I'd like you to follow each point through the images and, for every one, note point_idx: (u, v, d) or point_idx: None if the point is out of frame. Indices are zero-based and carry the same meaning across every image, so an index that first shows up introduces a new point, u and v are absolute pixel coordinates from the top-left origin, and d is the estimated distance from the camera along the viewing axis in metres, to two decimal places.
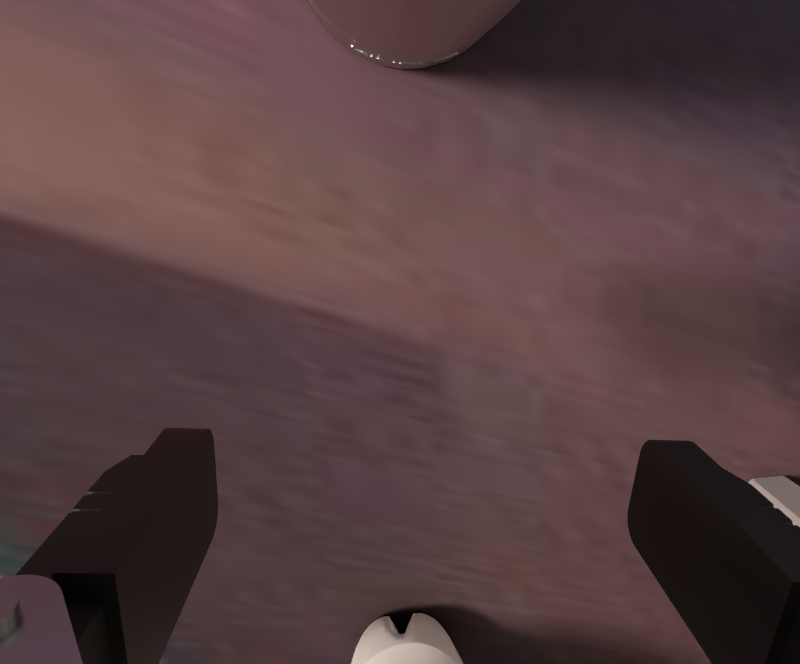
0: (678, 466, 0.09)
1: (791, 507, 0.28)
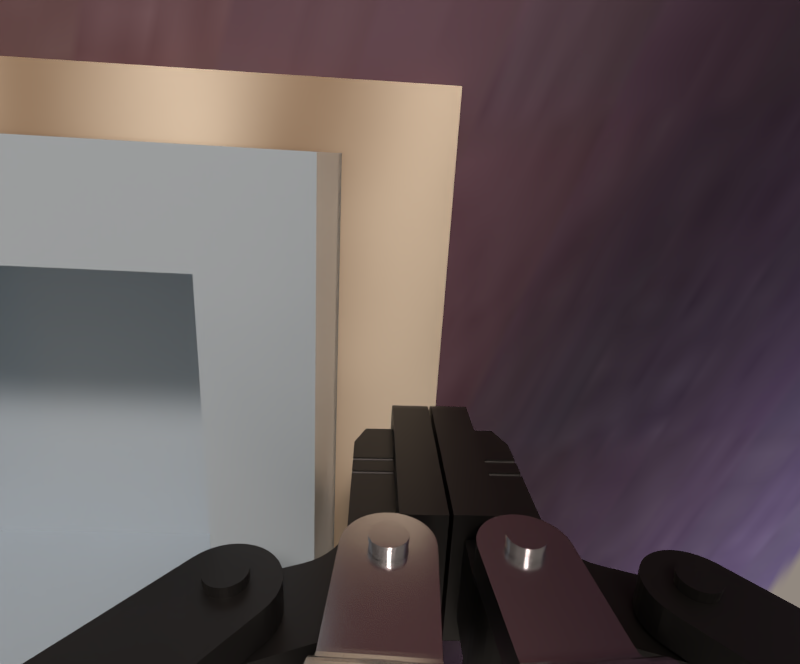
0: (435, 427, 0.10)
1: None
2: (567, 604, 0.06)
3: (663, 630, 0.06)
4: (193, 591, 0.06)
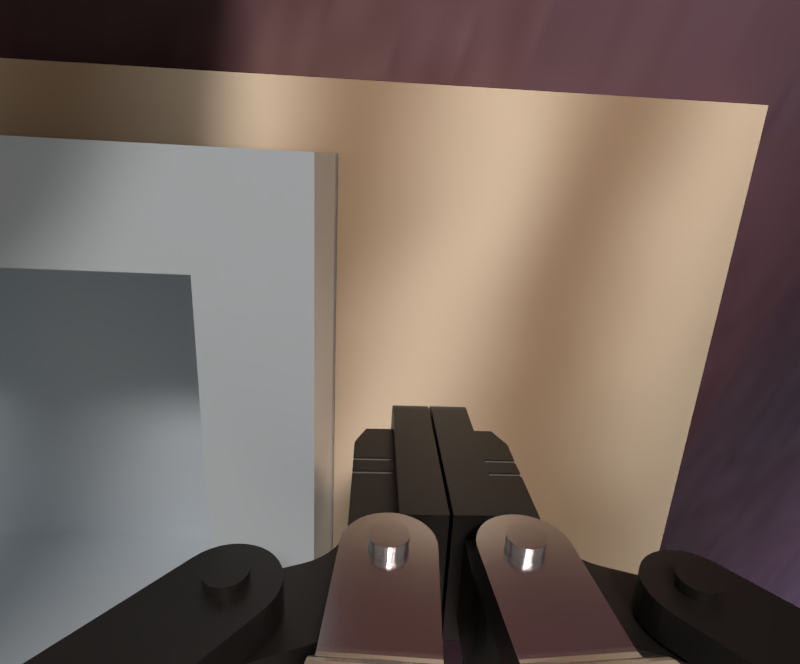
0: (434, 427, 0.10)
1: None
2: (567, 604, 0.06)
3: (663, 630, 0.06)
4: (194, 591, 0.06)
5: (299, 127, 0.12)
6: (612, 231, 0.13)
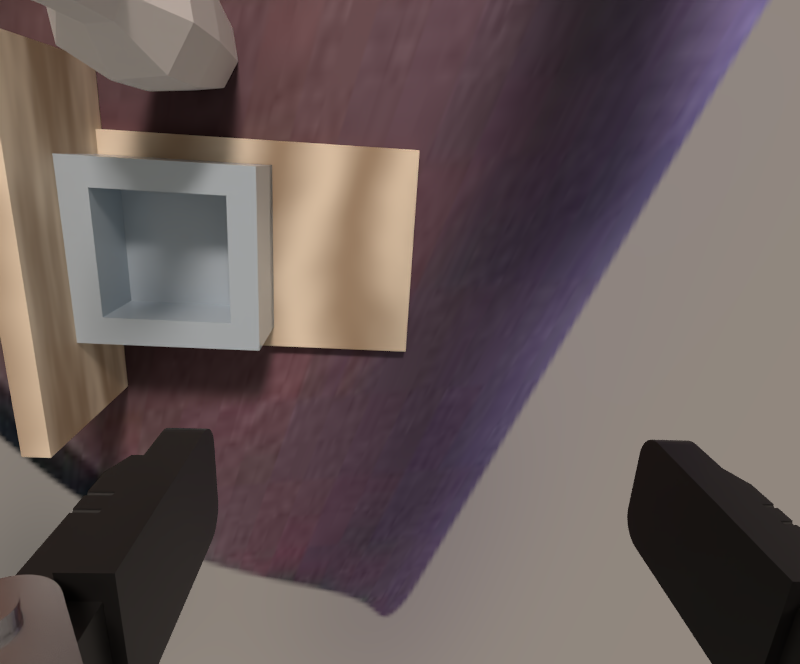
0: (678, 466, 0.09)
1: (225, 16, 0.30)
2: None
3: None
4: None
5: (258, 156, 0.35)
6: (370, 193, 0.36)
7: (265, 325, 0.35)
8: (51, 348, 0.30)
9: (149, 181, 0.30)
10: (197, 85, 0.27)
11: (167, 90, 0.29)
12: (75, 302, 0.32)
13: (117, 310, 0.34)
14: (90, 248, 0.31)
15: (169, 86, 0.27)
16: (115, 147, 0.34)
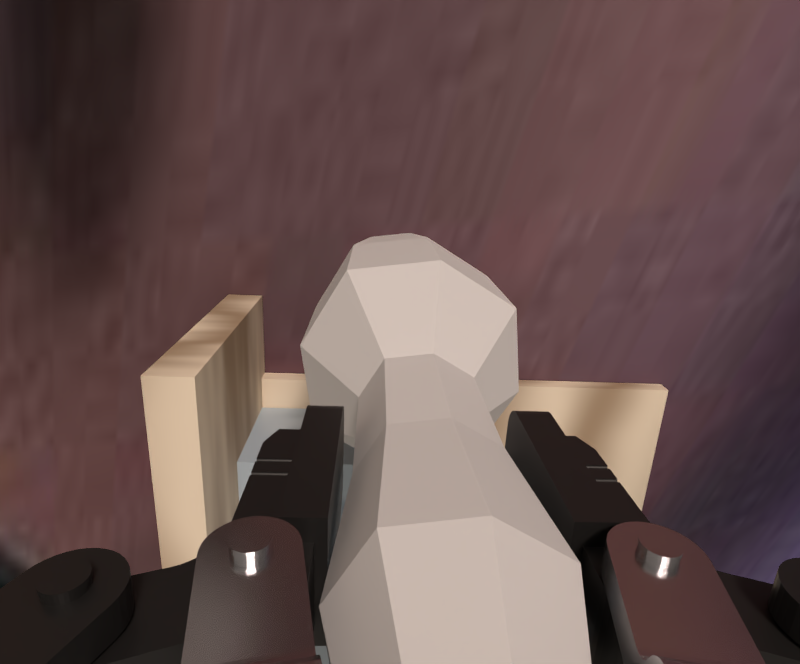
0: (525, 432, 0.10)
1: None
2: (721, 613, 0.06)
3: (797, 628, 0.06)
4: (28, 604, 0.05)
5: None
6: (600, 439, 0.28)
7: None
8: None
9: None
10: None
11: None
12: None
13: None
14: None
15: None
16: (284, 399, 0.27)
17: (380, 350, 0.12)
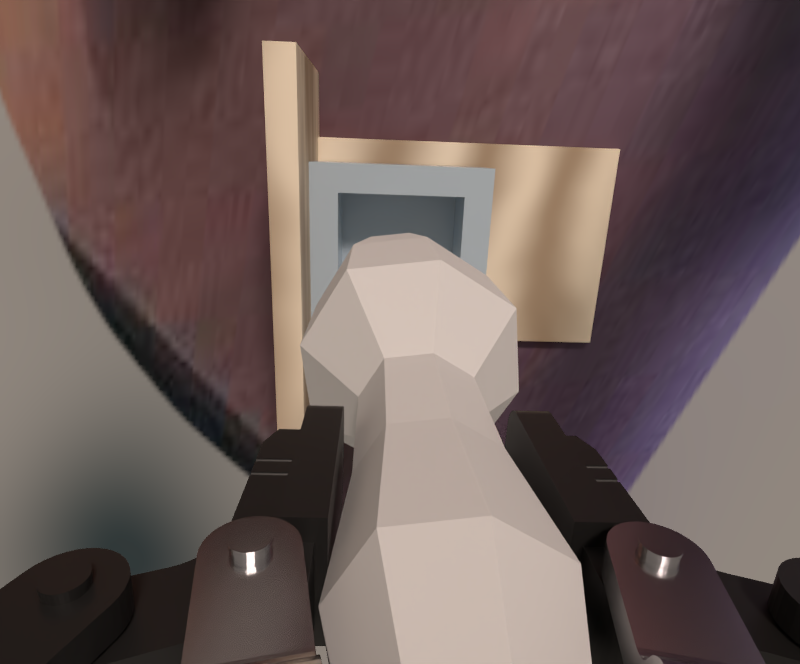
0: (525, 432, 0.10)
1: None
2: (720, 613, 0.06)
3: (797, 627, 0.06)
4: (28, 604, 0.05)
5: (468, 158, 0.36)
6: (570, 191, 0.37)
7: None
8: None
9: (394, 186, 0.32)
10: None
11: None
12: (314, 301, 0.34)
13: None
14: (334, 250, 0.33)
15: None
16: (334, 154, 0.36)
17: (380, 350, 0.12)
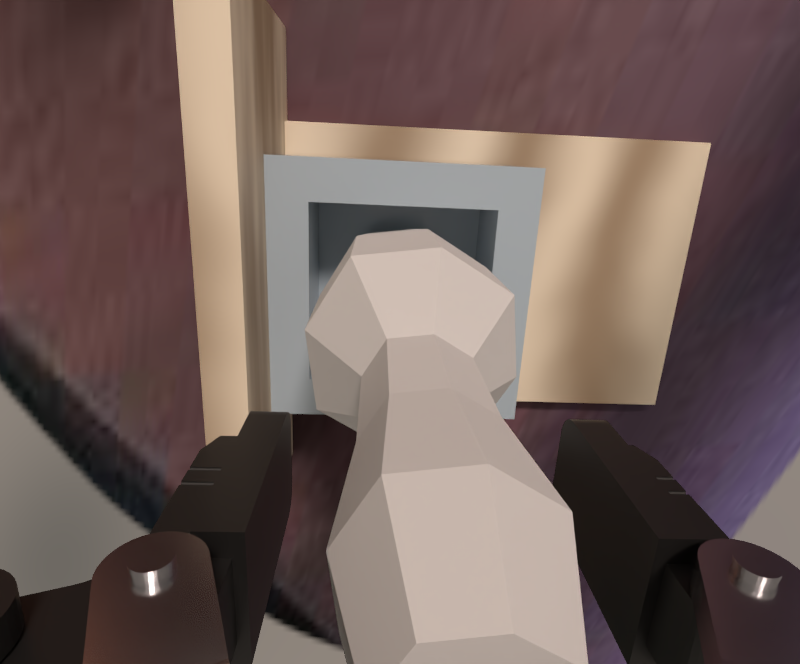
0: (586, 442, 0.09)
1: None
2: None
3: None
4: None
5: (497, 154, 0.26)
6: (638, 201, 0.27)
7: None
8: None
9: (394, 192, 0.21)
10: None
11: None
12: (274, 359, 0.23)
13: None
14: (303, 286, 0.22)
15: None
16: (308, 146, 0.25)
17: (383, 331, 0.13)
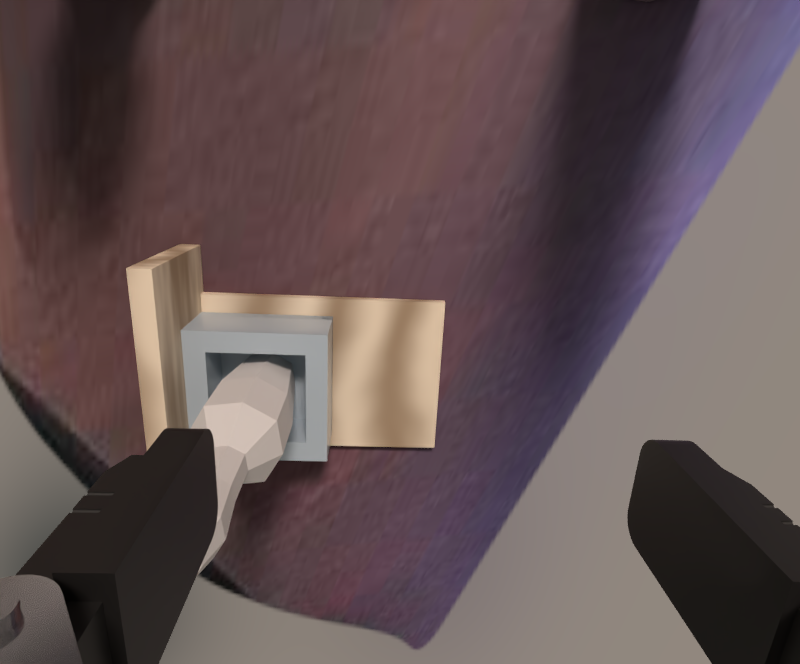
0: (678, 466, 0.09)
1: (290, 377, 0.43)
2: None
3: None
4: None
5: (322, 310, 0.45)
6: (407, 334, 0.46)
7: (329, 438, 0.46)
8: None
9: (249, 347, 0.41)
10: None
11: None
12: None
13: None
14: (205, 393, 0.42)
15: None
16: (214, 307, 0.45)
17: None
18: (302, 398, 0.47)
